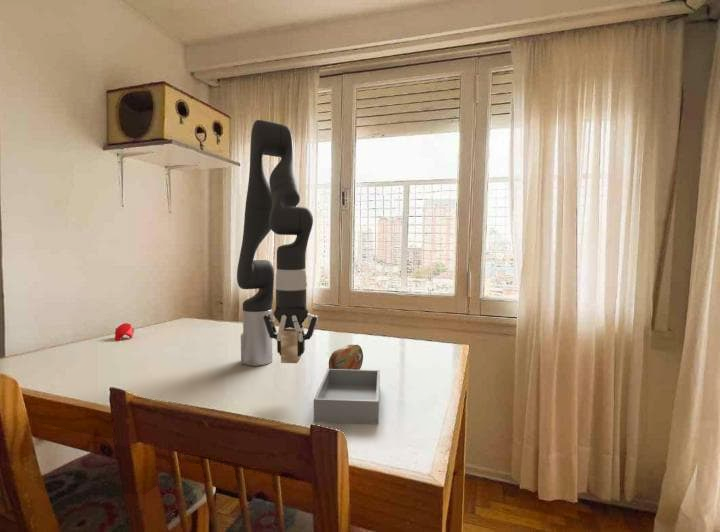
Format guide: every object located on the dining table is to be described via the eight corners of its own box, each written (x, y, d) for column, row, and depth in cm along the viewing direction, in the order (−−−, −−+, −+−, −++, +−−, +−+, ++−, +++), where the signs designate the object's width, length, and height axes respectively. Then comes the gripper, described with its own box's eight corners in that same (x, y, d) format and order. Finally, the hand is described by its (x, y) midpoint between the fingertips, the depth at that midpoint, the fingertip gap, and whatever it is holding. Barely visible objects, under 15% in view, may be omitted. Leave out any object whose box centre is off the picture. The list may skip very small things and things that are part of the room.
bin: (313, 421, 82) (313, 399, 81) (327, 387, 101) (327, 368, 101) (378, 424, 81) (378, 401, 80) (379, 388, 101) (379, 370, 100)
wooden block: (280, 362, 93) (280, 330, 92) (285, 357, 97) (285, 327, 96) (296, 363, 92) (297, 331, 92) (300, 358, 96) (300, 327, 96)
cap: (123, 328, 157) (112, 323, 152) (136, 323, 156) (125, 318, 151) (121, 346, 153) (109, 341, 148) (134, 341, 152) (122, 337, 147)
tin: (335, 384, 104) (335, 354, 103) (326, 381, 106) (326, 352, 105) (363, 369, 117) (364, 342, 116) (355, 367, 118) (355, 340, 118)
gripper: (258, 288, 90) (258, 358, 91) (316, 289, 89) (316, 360, 90) (267, 284, 98) (268, 349, 99) (322, 286, 97) (321, 351, 98)
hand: (291, 354), depth 95 cm, fingers closed on wooden block, 4 cm apart
